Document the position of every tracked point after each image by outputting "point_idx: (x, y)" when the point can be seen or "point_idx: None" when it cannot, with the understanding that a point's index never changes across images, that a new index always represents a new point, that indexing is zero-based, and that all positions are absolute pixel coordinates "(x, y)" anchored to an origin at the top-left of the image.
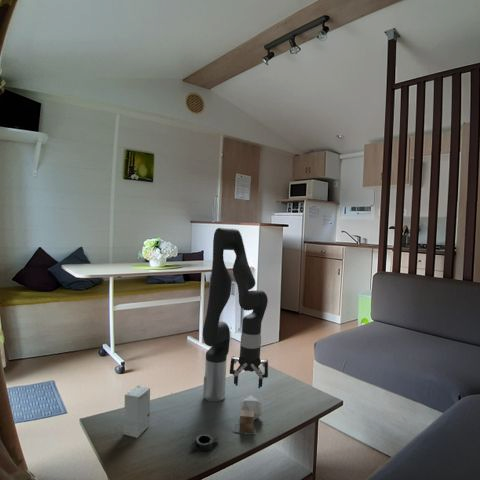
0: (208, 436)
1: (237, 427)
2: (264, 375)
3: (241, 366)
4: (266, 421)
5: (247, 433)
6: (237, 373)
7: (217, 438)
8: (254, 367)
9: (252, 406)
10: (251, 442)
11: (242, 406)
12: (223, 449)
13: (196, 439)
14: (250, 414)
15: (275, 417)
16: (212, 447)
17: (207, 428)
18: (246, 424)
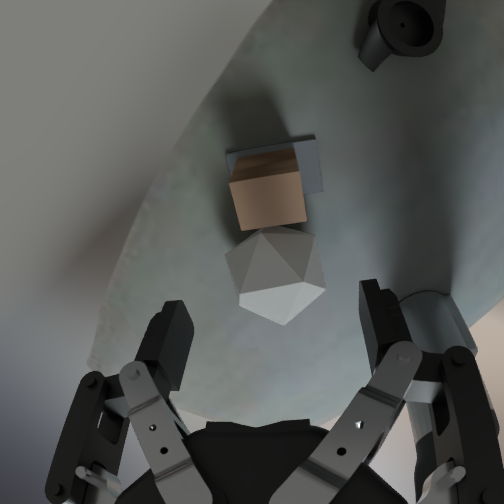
0: (404, 45)
1: (308, 170)
2: (109, 391)
3: (358, 465)
4: (212, 246)
5: (258, 147)
6: (390, 371)
7: (367, 63)
8: (168, 470)
9: (260, 262)
10: (226, 102)
11: (309, 258)
12: (323, 25)
13: (439, 21)
14: (250, 199)
15: (190, 276)
16: (369, 25)
17: (421, 137)
18: (264, 163)
